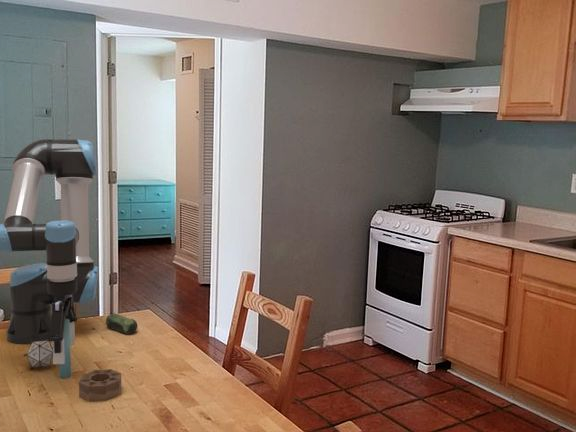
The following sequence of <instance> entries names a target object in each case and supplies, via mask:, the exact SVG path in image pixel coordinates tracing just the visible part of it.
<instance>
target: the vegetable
mask: <svg viewBox="0 0 576 432" xmlns="http://www.w3.org/2000/svg"><path fill="white" fill-rule="evenodd" d="M105 325H106V327H108V329H112V330H114V331H117V332H121V333H122V334H123V333H124V334H126V335H131V334H133V333H136V331H137V330H138V322H137V320H136V319H134V318H129V317H127V316H123V315H119V314H117V313H110V314H109V315H108V316H107V317H106V320H105Z"/></svg>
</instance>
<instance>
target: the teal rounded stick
mask: <svg viewBox="0 0 576 432" xmlns="http://www.w3.org/2000/svg"><path fill="white" fill-rule="evenodd" d="M63 339H64V355H65V363H64V364H58V365H59V366H58V368H59V370H58V371H59V373H58V374H59V379H68V378H71V377H72V357H71V356H72V355H71V354H72V353H71V345H70V320H69V319H65V324H64V332H63Z"/></svg>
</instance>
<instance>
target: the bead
mask: <svg viewBox="0 0 576 432" xmlns="http://www.w3.org/2000/svg"><path fill="white" fill-rule="evenodd" d="M121 391H122V372H120V371H117V370H114V369H111V368H108V369H107V368H105V369H93V370H91V371H88V372H86V373H83V374H82V375H80V378H79V380H78V397H79V398H81V399H84V400H85V401H88V402H100V401H101V402H103V401H105V402H106V401H108V400H111V399H113V398H116V397H117V396H120V395H121V394H120V393H121Z"/></svg>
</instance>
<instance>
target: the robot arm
mask: <svg viewBox="0 0 576 432" xmlns="http://www.w3.org/2000/svg"><path fill="white" fill-rule="evenodd" d="M11 169H12V170H11V171H12V174H13V179H12V185H11V189H10V193H9V198H8V203H7V206H6V212H5V216H4V220H3V221H4V222H3V223H1V224H0V252H9V253H13V252H33V251H34V252H35V251H36V252H37V251H38V252H39V251H46V252H45V254H46V262H39V263H32V264H26V265H23V266H20V267H17V268H15V269H14V270H12V271H11V272H10V276H9V277H10V281H9V289H10V302H11V303H10V304H11V308H10V309H11V316H10V319H9V323H8V327H7V329H6V340H7V341H8V342H11V343H13V344H32V342H31V340H32V341H33V342H36V341H48V340H49V341H50V342H52V348H53V358H52V362H53V365H59V364H64V363H65V355H64V339H63V332H64V324H65V319H69V320H70V346H75V345H76V335H75V322H76V323H77V322H78V317H76V316H77V314H76V310H75V309H76V308H75V304H76V303H77V304H81V303H87V302H89V303H90V302H92V301H93V300H94V299H95V298H96V293H97V287H98V279H99V267H98V266H97V265H95V261H94V259H92V258H91V257H90V246H89V245H90V238H89V237H90V236H89V235H90V230H89V226H90V223H89V220H90V219H89V185H90V184H91V183H92V182H93V181H94V177H93V176H96V175H97V174H98V168H97V161H96V156H95V148H94V145H93V143H92V142H91V141H90V140H87V139H86V140H83V139H49V138H44V139H43V138H42V139H38V140H36V141H32V142H31V143H29V144H28V145H26V146H25V147H24V148H22V149H21V151H20V152H19V153H17V155H16V157H15V158H14V160H13V164H12V168H11ZM46 175H52V176H53V175H54V176H55V181H56V182H57V183H58V184H59V185H60V220H52V221H48V222H47V223H34V221H35V217H36V216H35V214H36V209H37V205H38V198H39V197H38V196H39V191H40V185H41V181H42V180H43V179H44V178H45V176H46ZM51 308H52V309H51Z"/></svg>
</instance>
